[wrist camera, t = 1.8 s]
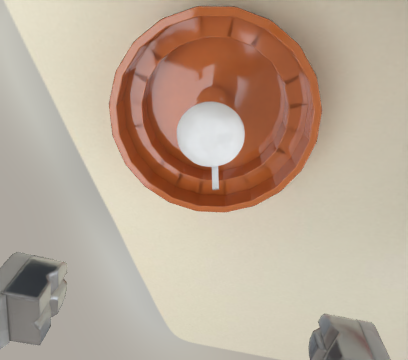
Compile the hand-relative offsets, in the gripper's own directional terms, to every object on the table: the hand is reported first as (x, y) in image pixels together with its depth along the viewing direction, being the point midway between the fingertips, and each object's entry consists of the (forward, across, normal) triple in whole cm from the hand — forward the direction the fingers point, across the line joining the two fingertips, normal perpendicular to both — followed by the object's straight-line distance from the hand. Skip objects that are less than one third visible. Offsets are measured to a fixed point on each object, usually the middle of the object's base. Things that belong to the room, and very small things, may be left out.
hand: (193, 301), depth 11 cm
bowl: (+22, 0, 0) cm, 22 cm away
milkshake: (+22, 0, 0) cm, 22 cm away
